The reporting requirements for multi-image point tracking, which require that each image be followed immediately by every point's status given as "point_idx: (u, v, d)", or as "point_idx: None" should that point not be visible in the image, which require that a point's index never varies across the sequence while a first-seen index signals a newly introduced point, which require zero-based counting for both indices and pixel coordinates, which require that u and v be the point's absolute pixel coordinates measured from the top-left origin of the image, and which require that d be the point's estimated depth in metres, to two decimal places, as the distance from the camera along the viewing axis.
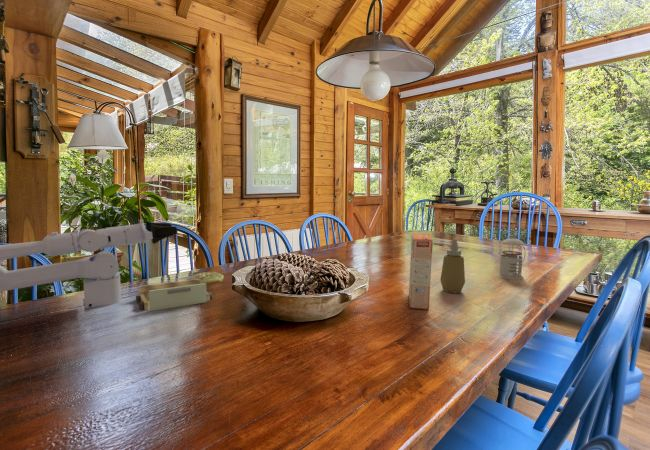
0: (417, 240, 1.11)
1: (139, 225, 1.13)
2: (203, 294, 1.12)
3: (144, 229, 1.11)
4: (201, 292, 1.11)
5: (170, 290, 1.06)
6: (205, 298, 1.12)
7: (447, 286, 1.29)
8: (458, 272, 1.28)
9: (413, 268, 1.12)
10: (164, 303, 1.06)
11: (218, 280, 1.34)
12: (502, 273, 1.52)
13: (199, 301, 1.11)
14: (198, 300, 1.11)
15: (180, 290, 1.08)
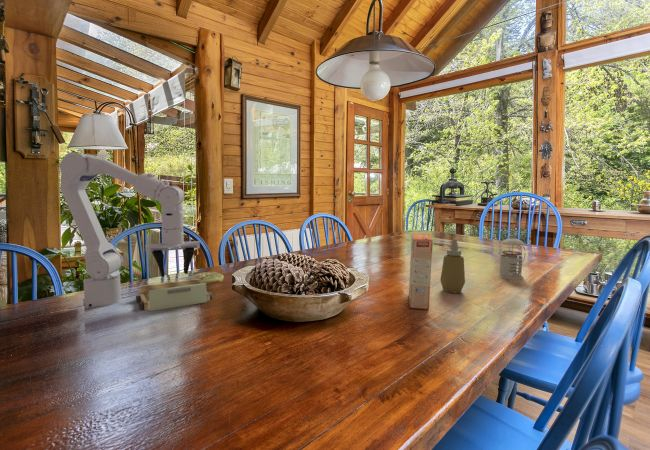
0: (417, 240, 1.11)
1: (170, 243, 1.09)
2: (203, 294, 1.12)
3: (157, 246, 1.08)
4: (201, 292, 1.11)
5: (170, 290, 1.06)
6: (205, 298, 1.12)
7: (447, 286, 1.29)
8: (458, 272, 1.28)
9: (413, 268, 1.12)
10: (164, 303, 1.06)
11: (218, 280, 1.34)
12: (502, 273, 1.52)
13: (199, 301, 1.11)
14: (198, 300, 1.11)
15: (180, 290, 1.08)
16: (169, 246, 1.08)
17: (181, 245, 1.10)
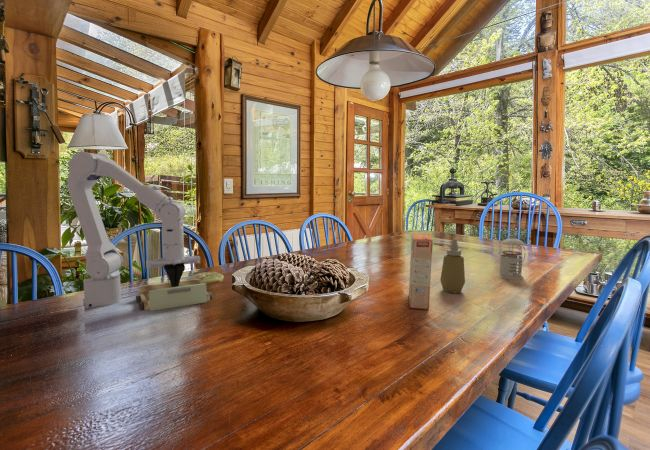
0: (417, 240, 1.11)
1: (171, 259, 1.09)
2: (203, 294, 1.12)
3: (158, 262, 1.08)
4: (201, 292, 1.11)
5: (170, 290, 1.06)
6: (205, 298, 1.12)
7: (447, 286, 1.29)
8: (458, 272, 1.28)
9: (413, 268, 1.12)
10: (164, 303, 1.06)
11: (218, 280, 1.34)
12: (502, 273, 1.52)
13: (199, 301, 1.11)
14: (198, 300, 1.11)
15: (180, 290, 1.08)
16: (170, 262, 1.09)
17: (181, 260, 1.11)
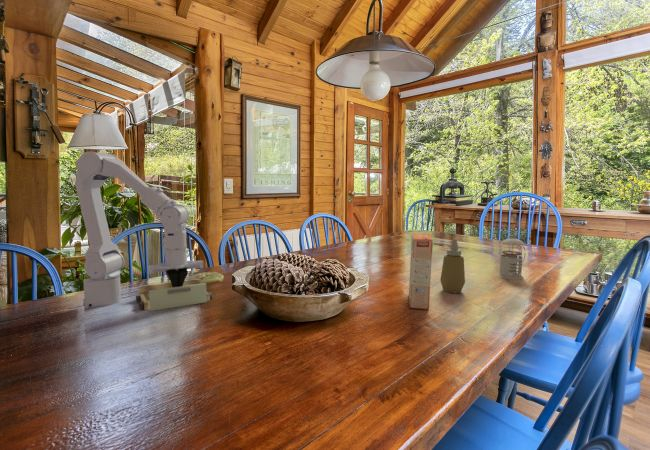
0: (417, 240, 1.11)
1: (173, 264, 1.06)
2: (203, 294, 1.12)
3: (160, 267, 1.06)
4: (201, 292, 1.11)
5: (170, 290, 1.06)
6: (205, 298, 1.12)
7: (447, 286, 1.29)
8: (458, 272, 1.28)
9: (413, 268, 1.12)
10: (164, 303, 1.06)
11: (218, 280, 1.34)
12: (502, 273, 1.52)
13: (199, 301, 1.11)
14: (198, 300, 1.11)
15: (180, 290, 1.08)
16: (172, 267, 1.06)
17: (184, 265, 1.08)
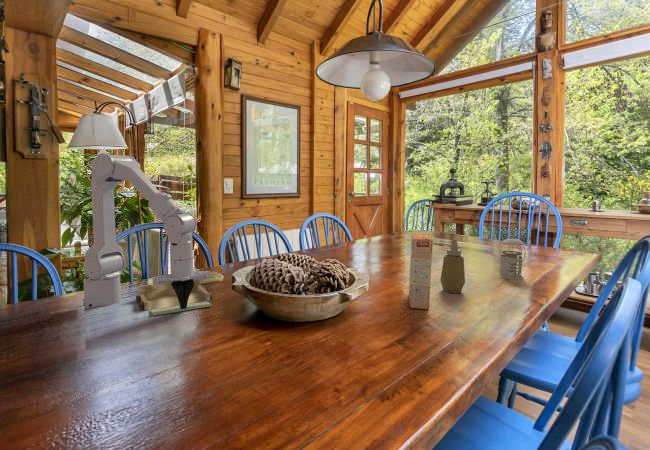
0: (417, 240, 1.11)
1: (179, 275, 1.01)
2: None
3: (165, 279, 1.00)
4: None
5: None
6: None
7: (447, 286, 1.29)
8: (458, 272, 1.28)
9: (413, 268, 1.12)
10: None
11: (218, 280, 1.34)
12: (502, 273, 1.52)
13: None
14: None
15: None
16: (178, 278, 1.01)
17: (191, 277, 1.02)
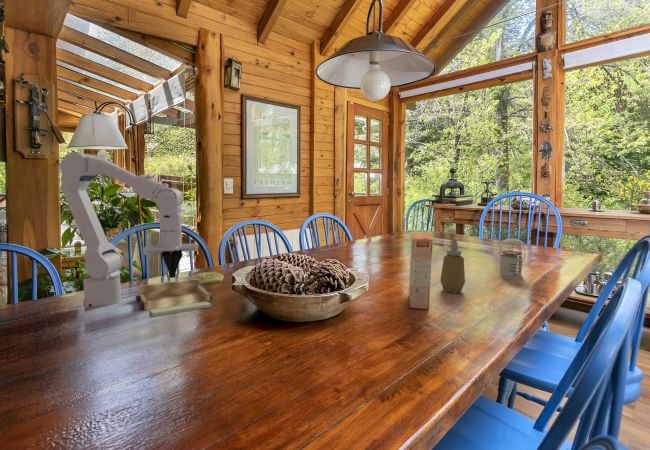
0: (417, 240, 1.11)
1: (168, 245, 1.08)
2: None
3: (155, 249, 1.07)
4: None
5: None
6: None
7: (447, 286, 1.29)
8: (458, 272, 1.28)
9: (413, 268, 1.12)
10: None
11: (218, 280, 1.34)
12: (502, 273, 1.52)
13: None
14: None
15: None
16: (167, 248, 1.07)
17: (179, 247, 1.09)
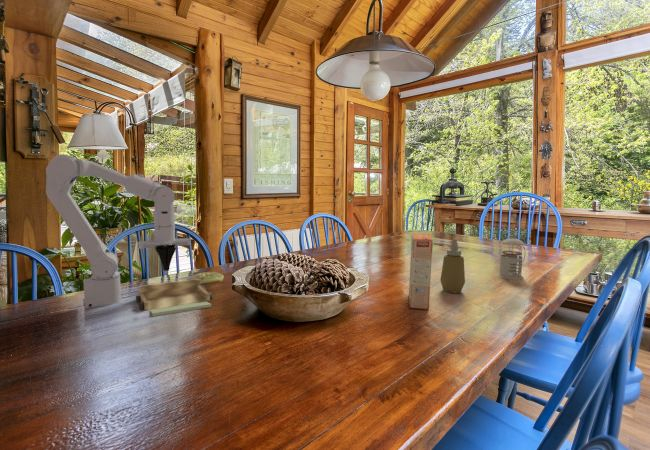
0: (417, 240, 1.11)
1: (162, 240, 1.14)
2: None
3: (149, 243, 1.13)
4: None
5: None
6: None
7: (447, 286, 1.29)
8: (458, 272, 1.28)
9: (413, 268, 1.12)
10: None
11: (218, 280, 1.34)
12: (502, 273, 1.52)
13: None
14: None
15: None
16: (161, 243, 1.14)
17: (172, 242, 1.15)
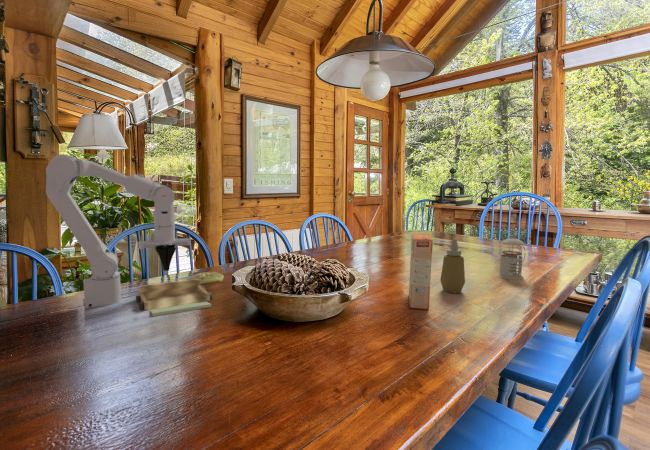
0: (417, 240, 1.11)
1: (162, 240, 1.14)
2: None
3: (149, 243, 1.13)
4: None
5: None
6: None
7: (447, 286, 1.29)
8: (458, 272, 1.28)
9: (413, 268, 1.12)
10: None
11: (218, 280, 1.34)
12: (502, 273, 1.52)
13: None
14: None
15: None
16: (161, 243, 1.14)
17: (172, 242, 1.15)
